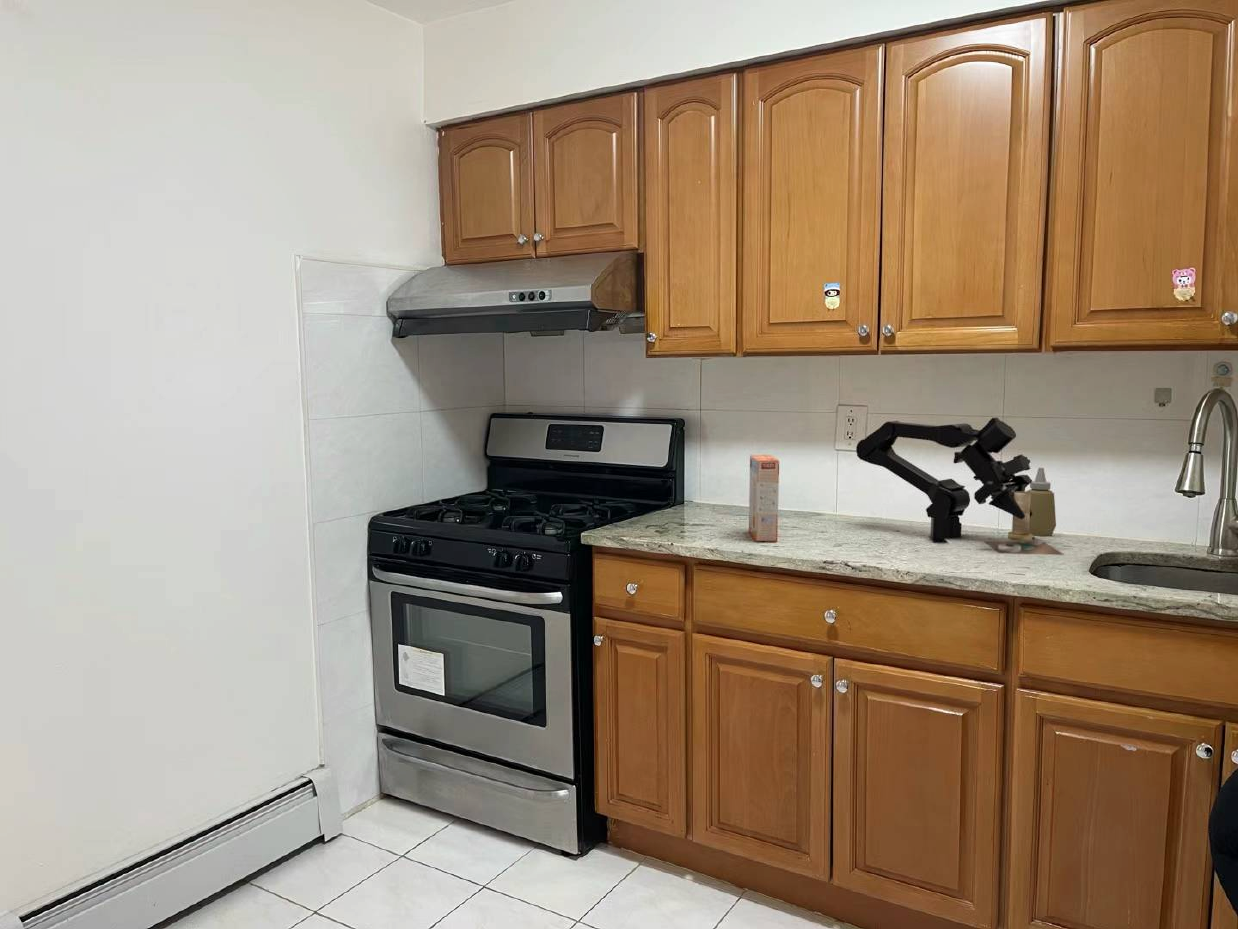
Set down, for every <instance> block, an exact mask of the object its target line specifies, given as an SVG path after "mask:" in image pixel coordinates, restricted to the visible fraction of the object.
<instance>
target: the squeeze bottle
mask: <svg viewBox="0 0 1238 929" xmlns="http://www.w3.org/2000/svg"><path fill="white" fill-rule="evenodd" d="M1029 488H1030V489H1028V490H1025V492H1030V493H1031V498H1030V509H1031V511H1032V513H1033V515H1032V516H1031V517H1030V519H1029V533H1031V534H1033V535H1032V536H1033V537H1052V536H1053V533H1054V531H1055V529H1056V526H1057V519H1056V505H1055V504H1056V500H1055V493H1054V492H1053V491H1052V490H1051V482H1049V481H1047V480H1046V474H1045V469H1044V467H1038V468H1037V471H1036V475H1035V478H1034V480H1032V482H1031V483H1030V484H1029Z"/></svg>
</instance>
